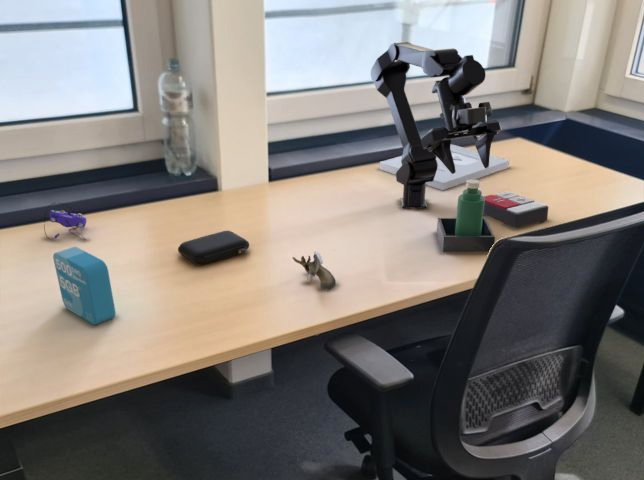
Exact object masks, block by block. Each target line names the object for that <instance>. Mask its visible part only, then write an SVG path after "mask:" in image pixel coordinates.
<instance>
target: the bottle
mask: <svg viewBox="0 0 644 480" xmlns="http://www.w3.org/2000/svg"><path fill="white" fill-rule="evenodd" d="M480 186H481V180H479V179H470V180H467V182H466V189H463V190H462V193H461V194H459V196H458V198H457V208H456V217H455V218H456V227H455V236H481V230H482V222H483V218H484V214H483V213H484V204H485V197H484V196H485V195H483V192H482V191H481V190H480V189H479V188H480Z"/></svg>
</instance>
